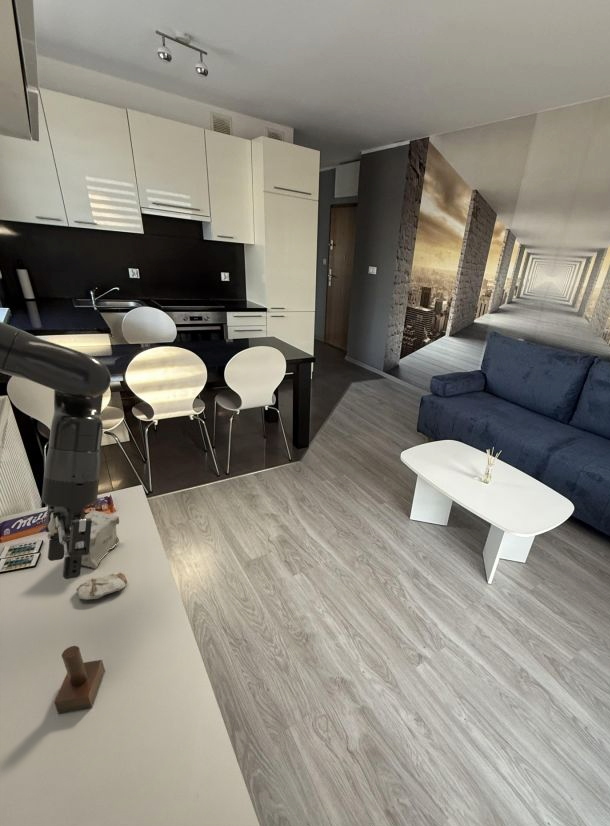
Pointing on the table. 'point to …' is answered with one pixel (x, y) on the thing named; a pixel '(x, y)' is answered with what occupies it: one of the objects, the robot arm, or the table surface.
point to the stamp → (78, 682)
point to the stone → (101, 586)
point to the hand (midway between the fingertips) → (63, 568)
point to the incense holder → (100, 537)
